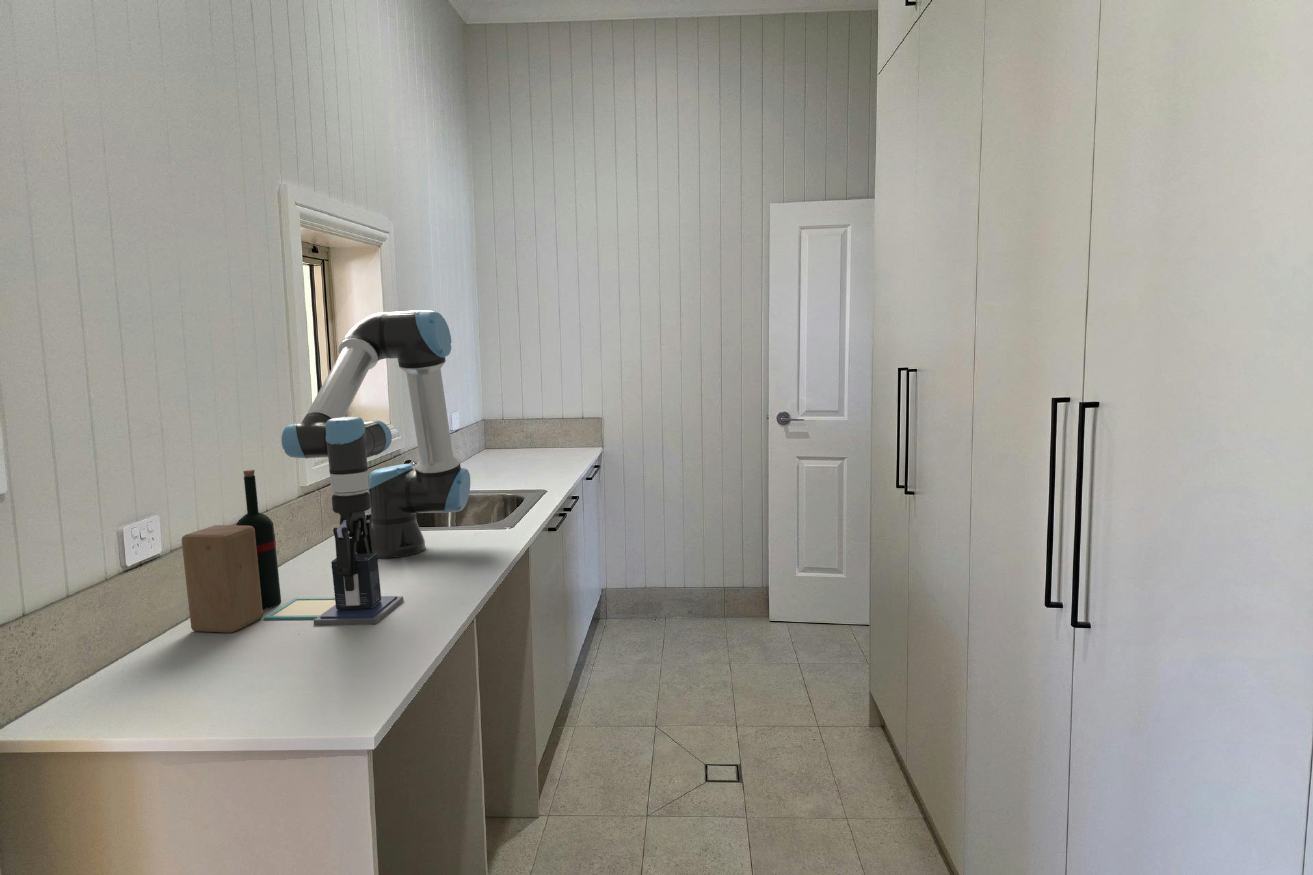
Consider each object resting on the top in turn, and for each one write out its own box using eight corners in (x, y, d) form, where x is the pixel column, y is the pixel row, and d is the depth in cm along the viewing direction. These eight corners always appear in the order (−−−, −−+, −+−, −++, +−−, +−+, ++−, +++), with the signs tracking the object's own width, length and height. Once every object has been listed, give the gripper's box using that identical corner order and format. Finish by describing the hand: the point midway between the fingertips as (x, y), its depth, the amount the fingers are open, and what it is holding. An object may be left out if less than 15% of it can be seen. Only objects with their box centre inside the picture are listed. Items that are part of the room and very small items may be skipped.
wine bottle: (292, 595, 194) (280, 465, 190) (271, 610, 184) (257, 472, 180) (258, 596, 194) (245, 466, 190) (235, 611, 184) (221, 474, 180)
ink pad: (346, 601, 188) (345, 595, 188) (403, 600, 187) (403, 594, 187) (313, 624, 173) (313, 618, 173) (376, 624, 172) (375, 617, 172)
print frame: (295, 600, 190) (294, 597, 190) (355, 599, 189) (355, 597, 189) (264, 619, 178) (263, 617, 178) (328, 618, 176) (328, 616, 176)
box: (381, 600, 183) (377, 552, 181) (372, 608, 177) (368, 559, 176) (345, 601, 183) (341, 553, 182) (335, 610, 177) (330, 560, 176)
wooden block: (233, 634, 169) (222, 536, 167) (189, 632, 171) (178, 535, 169) (265, 617, 179) (256, 524, 176) (223, 616, 181) (214, 524, 178)
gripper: (352, 483, 186) (361, 586, 189) (311, 501, 168) (322, 614, 171) (385, 483, 186) (394, 586, 189) (348, 500, 167) (358, 614, 170)
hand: (359, 599), depth 180 cm, fingers closed on box, 6 cm apart
